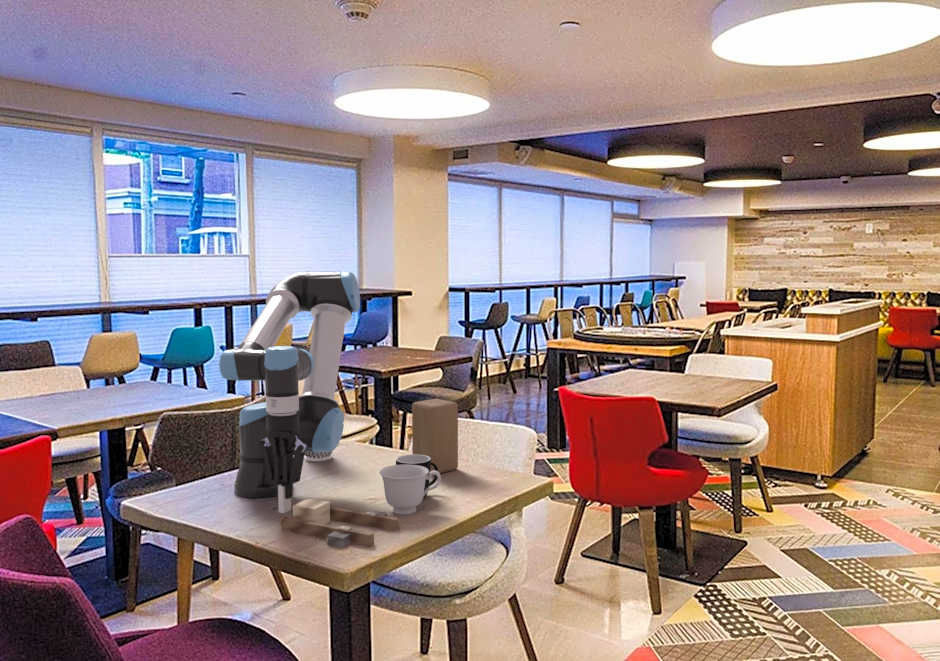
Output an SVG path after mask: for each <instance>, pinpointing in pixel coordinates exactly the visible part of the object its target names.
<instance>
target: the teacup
mask: <svg viewBox="0 0 940 661" xmlns="http://www.w3.org/2000/svg"><path fill="white" fill-rule="evenodd" d="M428 473H429V470H428V469H427V468H426V467H423V466H419V465H410V464H402V465H396V464H395V465H394V464H393V465H389V466H386V467H383V468H382V469H380V470H379V475H380V476H381V477H382V482H383V488H384V489H383V490H384V495H385V500H386V502H387V504H388V505H389V506H390V507H391V508H393V509H392V512H393V513H394V514H397V515H403V516H404V515H411V514H414V513H416V512H417V506H419V505H420V504H421V503H422V502H423V500H424V499H423V497H424V495H425V494H426V493H427V492H430V491H432V490H435V489H436V488H438V487H439V486H440V483H441V482H442V476H441V473H439V472H438V471H435V470H434V471H431V472H430V473H429V477H428V476H427V474H428ZM435 475H436V476H437V480H436V481H435V483H434V484H433V485H431V486H429V487H428V488H427V489H426V490H425V491H424V488H425V480H426V479H428V480H430V481H431V478H432V476H435ZM427 494H428V493H427Z"/></svg>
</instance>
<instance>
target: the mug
mask: <svg viewBox="0 0 940 661" xmlns="http://www.w3.org/2000/svg"><path fill="white" fill-rule="evenodd" d="M402 464H410V465H419V466H423V467H426V468H427V469H428V470H429V473H430V470H431V465H432V466H433V467H434V469H435V471H438V468H437V466H436V465H435V464H434V463H432V462H431V459H430V457H428V456H425V455H418V454H413V453H412V454H404V455H399V456H398V457H396V459H395V465H402ZM429 473H428V474H427V476H428V477H429ZM433 476H434V477H433V478H432V480H431V479H430V480H428V479H426V480H425V488H424V491H425V490H426V489H427V488H428V487H430V486H432V485H434V484H435V483H436V482H437V480H438V478H437V476H436V475H433ZM428 492H429V491H428ZM428 492H427V493H426V494H425V495H424V497H423V500H424V499H425V498H426V497H427V495H428Z"/></svg>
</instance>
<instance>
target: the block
mask: <svg viewBox="0 0 940 661" xmlns="http://www.w3.org/2000/svg"><path fill="white" fill-rule="evenodd" d="M411 412H412V413H411V415H412V416H411V417H412V418H411V422H412V423H411V430H412V433H411V434H412V439H411V441H412V442H411V443H412V444H411V445H412V454H418V455H425V456H428V457H430V459H431V462H432V463H434V464H435V465H436V466H437V468H438V472H439V473H440V474H442V473H446V472H451V471H454V470H458V467H459V405H458V402H455V401H450V400H445V399H441V398H431V399H424V400H419V401H415V402H412V406H411ZM434 470H435V469H434V467H433V466H432V465H431V470H430V472H431V471H434Z"/></svg>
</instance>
